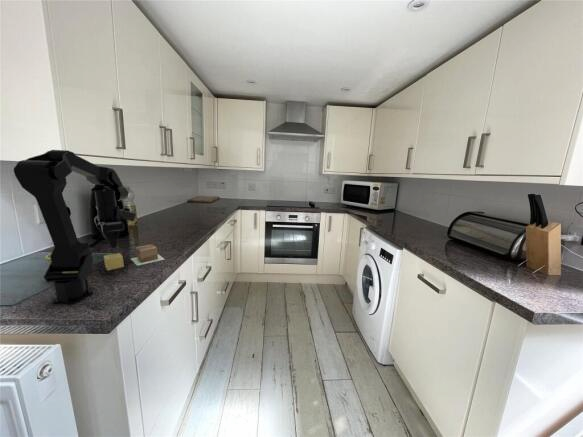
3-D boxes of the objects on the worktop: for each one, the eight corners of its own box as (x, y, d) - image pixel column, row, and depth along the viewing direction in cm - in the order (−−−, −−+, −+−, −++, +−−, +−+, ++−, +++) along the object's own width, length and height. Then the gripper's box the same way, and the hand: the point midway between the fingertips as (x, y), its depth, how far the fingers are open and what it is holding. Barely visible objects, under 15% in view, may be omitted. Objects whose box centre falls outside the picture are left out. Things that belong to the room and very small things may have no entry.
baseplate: (164, 260, 98) (164, 259, 98) (137, 267, 91) (137, 265, 91) (156, 254, 105) (156, 253, 105) (130, 259, 98) (130, 258, 98)
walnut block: (157, 259, 98) (157, 247, 97) (141, 262, 94) (140, 250, 93) (153, 255, 102) (152, 244, 101) (137, 258, 98) (136, 247, 97)
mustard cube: (124, 268, 90) (122, 256, 89) (107, 272, 86) (106, 259, 85) (121, 264, 93) (119, 252, 92) (105, 268, 89) (103, 255, 88)
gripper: (139, 204, 84) (143, 246, 87) (126, 199, 97) (130, 235, 100) (100, 207, 76) (106, 252, 79) (91, 201, 89) (96, 240, 92)
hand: (111, 244), depth 88 cm, fingers open, 9 cm apart
